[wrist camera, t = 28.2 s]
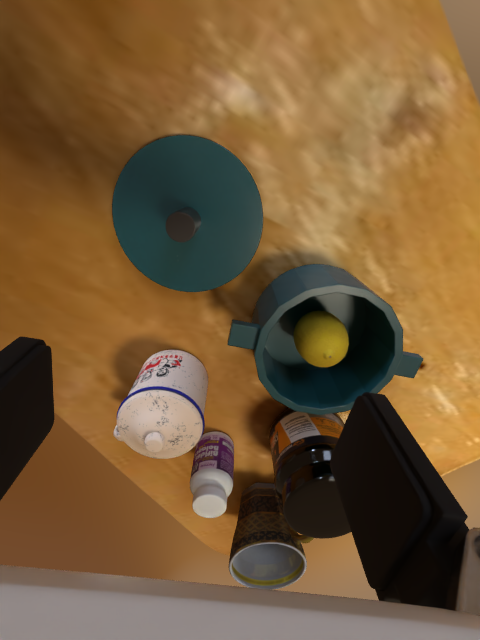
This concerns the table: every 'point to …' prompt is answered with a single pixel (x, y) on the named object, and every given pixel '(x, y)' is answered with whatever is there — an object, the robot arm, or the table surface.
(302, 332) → the lemon
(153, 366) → the teacup with lid
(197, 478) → the pill bottle
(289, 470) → the supplement container
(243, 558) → the ceramic cup
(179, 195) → the cooker lid
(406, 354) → the cooker
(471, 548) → the robot arm
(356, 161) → the table surface
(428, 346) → the table surface
